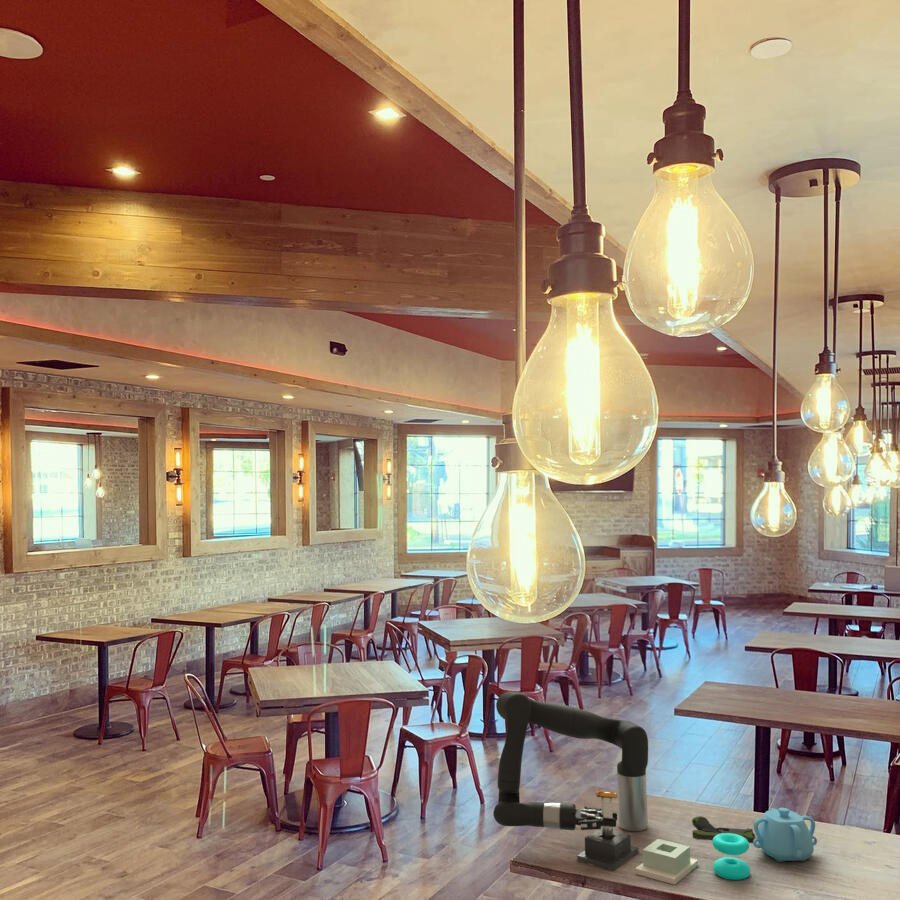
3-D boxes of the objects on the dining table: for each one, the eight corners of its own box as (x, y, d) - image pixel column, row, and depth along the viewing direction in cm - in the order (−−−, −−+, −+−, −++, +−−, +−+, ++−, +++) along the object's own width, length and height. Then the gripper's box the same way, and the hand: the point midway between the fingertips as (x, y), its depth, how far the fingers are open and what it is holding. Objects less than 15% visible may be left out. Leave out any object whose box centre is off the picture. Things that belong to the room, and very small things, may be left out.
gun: (750, 826, 285) (756, 846, 270) (689, 822, 288) (693, 841, 274) (749, 819, 285) (756, 837, 270) (689, 814, 288) (693, 833, 274)
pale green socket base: (659, 855, 262) (659, 834, 262) (698, 865, 254) (697, 844, 255) (635, 873, 249) (634, 852, 250) (674, 884, 242) (674, 862, 242)
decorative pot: (825, 855, 260) (823, 809, 260) (799, 871, 249) (797, 822, 250) (773, 840, 272) (771, 796, 272) (746, 855, 261) (745, 808, 262)
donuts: (717, 829, 256) (752, 835, 250) (718, 864, 255) (753, 871, 250) (708, 840, 247) (744, 847, 242) (709, 876, 247) (745, 884, 241)
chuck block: (603, 843, 272) (602, 823, 272) (638, 852, 264) (638, 832, 264) (577, 860, 259) (576, 840, 259) (613, 870, 252) (612, 849, 252)
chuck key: (596, 852, 261) (595, 793, 262) (597, 848, 264) (595, 789, 265) (618, 854, 259) (617, 794, 260) (619, 850, 262) (617, 791, 263)
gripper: (556, 811, 259) (615, 815, 255) (561, 795, 273) (617, 799, 269) (557, 837, 259) (615, 841, 254) (562, 820, 272) (618, 823, 268)
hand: (616, 819), depth 262 cm, fingers open, 4 cm apart
